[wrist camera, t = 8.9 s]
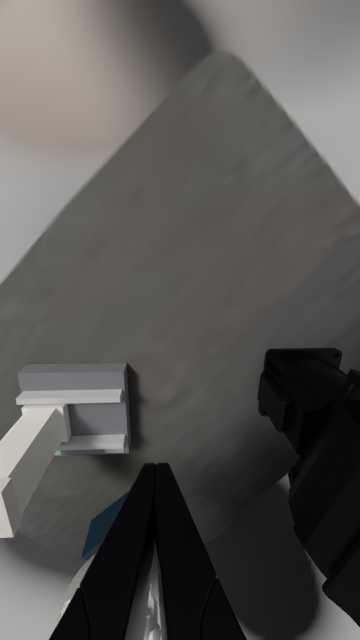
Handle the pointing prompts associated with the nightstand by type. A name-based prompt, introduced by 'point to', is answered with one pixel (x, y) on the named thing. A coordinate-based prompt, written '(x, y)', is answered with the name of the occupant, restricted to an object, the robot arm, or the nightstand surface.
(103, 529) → the watch
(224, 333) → the nightstand surface
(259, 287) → the nightstand surface
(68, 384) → the breaker panel
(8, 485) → the handle
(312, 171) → the nightstand surface
